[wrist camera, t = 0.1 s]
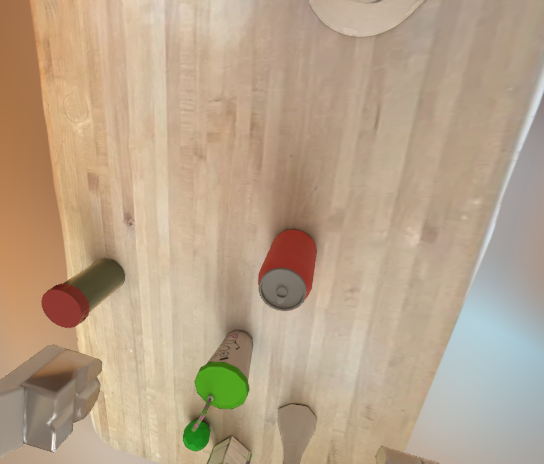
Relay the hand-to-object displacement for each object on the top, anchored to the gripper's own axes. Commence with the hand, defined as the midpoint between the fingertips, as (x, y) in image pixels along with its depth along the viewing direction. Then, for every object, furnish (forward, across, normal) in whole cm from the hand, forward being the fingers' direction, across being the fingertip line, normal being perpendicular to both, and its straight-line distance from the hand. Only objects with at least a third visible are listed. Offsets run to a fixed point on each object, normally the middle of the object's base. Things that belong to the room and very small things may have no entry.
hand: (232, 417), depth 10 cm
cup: (+42, +5, +27) cm, 50 cm away
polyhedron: (+44, +9, +49) cm, 66 cm away
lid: (+31, +29, +22) cm, 48 cm away
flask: (+43, -8, +40) cm, 59 cm away
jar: (+41, +29, +21) cm, 54 cm away
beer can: (+40, 0, +8) cm, 41 cm away
